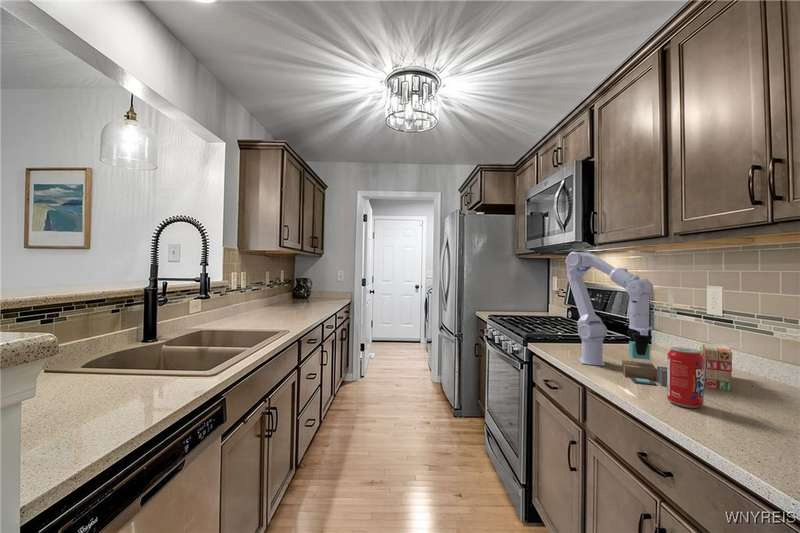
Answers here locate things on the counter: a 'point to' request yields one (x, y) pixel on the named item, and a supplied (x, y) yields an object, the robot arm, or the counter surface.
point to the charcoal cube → (662, 376)
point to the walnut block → (639, 370)
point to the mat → (643, 381)
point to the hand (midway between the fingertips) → (638, 353)
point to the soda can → (685, 377)
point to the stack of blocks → (717, 366)
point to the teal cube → (634, 353)
